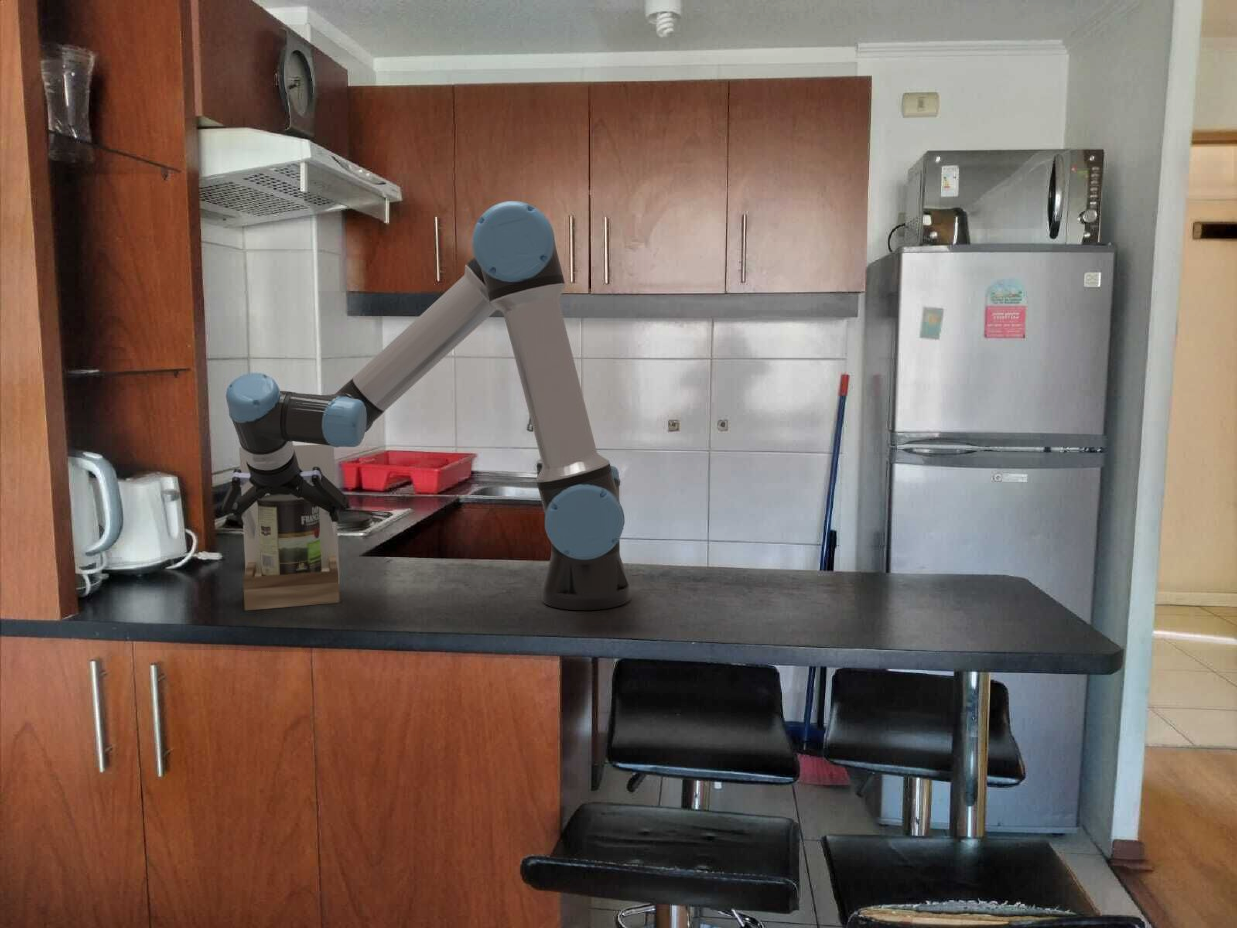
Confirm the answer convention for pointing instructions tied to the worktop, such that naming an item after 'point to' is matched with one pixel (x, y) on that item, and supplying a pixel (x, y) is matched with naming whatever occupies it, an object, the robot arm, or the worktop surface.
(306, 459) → the beige flat upright panel
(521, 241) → the robot arm
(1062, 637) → the worktop surface
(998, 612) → the worktop surface
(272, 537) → the coffee can
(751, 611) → the worktop surface
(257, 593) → the shelf
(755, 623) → the worktop surface
